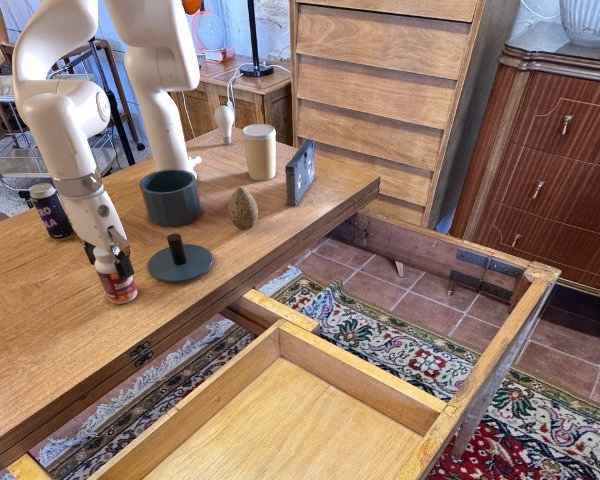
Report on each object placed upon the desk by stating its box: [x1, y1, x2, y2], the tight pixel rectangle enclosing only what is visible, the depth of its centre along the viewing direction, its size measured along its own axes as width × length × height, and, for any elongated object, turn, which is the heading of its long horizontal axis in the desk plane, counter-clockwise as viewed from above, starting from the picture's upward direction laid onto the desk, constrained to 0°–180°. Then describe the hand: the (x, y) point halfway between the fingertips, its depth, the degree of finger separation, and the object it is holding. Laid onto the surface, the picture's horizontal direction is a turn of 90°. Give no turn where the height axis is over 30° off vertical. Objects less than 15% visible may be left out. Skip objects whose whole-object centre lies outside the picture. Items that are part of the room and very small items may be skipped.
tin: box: [139, 169, 202, 228], centre depth 113 cm, size 14×14×8 cm
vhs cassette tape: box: [284, 139, 316, 207], centre depth 119 cm, size 18×3×10 cm, turn 161°
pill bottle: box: [93, 242, 138, 305], centre depth 90 cm, size 6×6×11 cm
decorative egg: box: [227, 187, 259, 231], centre depth 107 cm, size 7×7×10 cm
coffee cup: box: [241, 123, 277, 181], centre depth 126 cm, size 9×9×12 cm
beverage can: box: [28, 182, 75, 242], centre depth 105 cm, size 6×6×12 cm
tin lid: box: [147, 233, 214, 284], centre depth 98 cm, size 15×15×7 cm
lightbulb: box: [213, 105, 235, 146], centre depth 141 cm, size 6×6×11 cm
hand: (112, 268), depth 89 cm, fingers open, 8 cm apart
